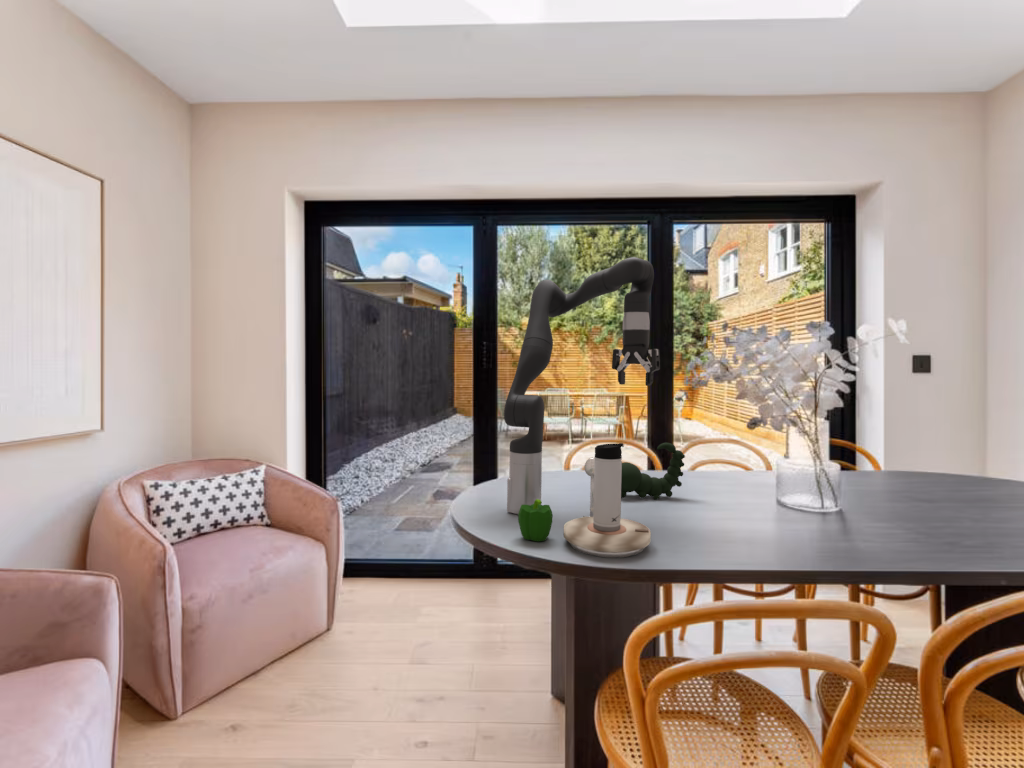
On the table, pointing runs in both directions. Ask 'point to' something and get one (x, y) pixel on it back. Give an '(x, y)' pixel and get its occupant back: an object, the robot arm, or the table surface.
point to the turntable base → (606, 554)
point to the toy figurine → (653, 485)
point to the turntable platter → (607, 535)
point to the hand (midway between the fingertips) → (634, 385)
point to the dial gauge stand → (590, 472)
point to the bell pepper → (535, 521)
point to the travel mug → (607, 487)
